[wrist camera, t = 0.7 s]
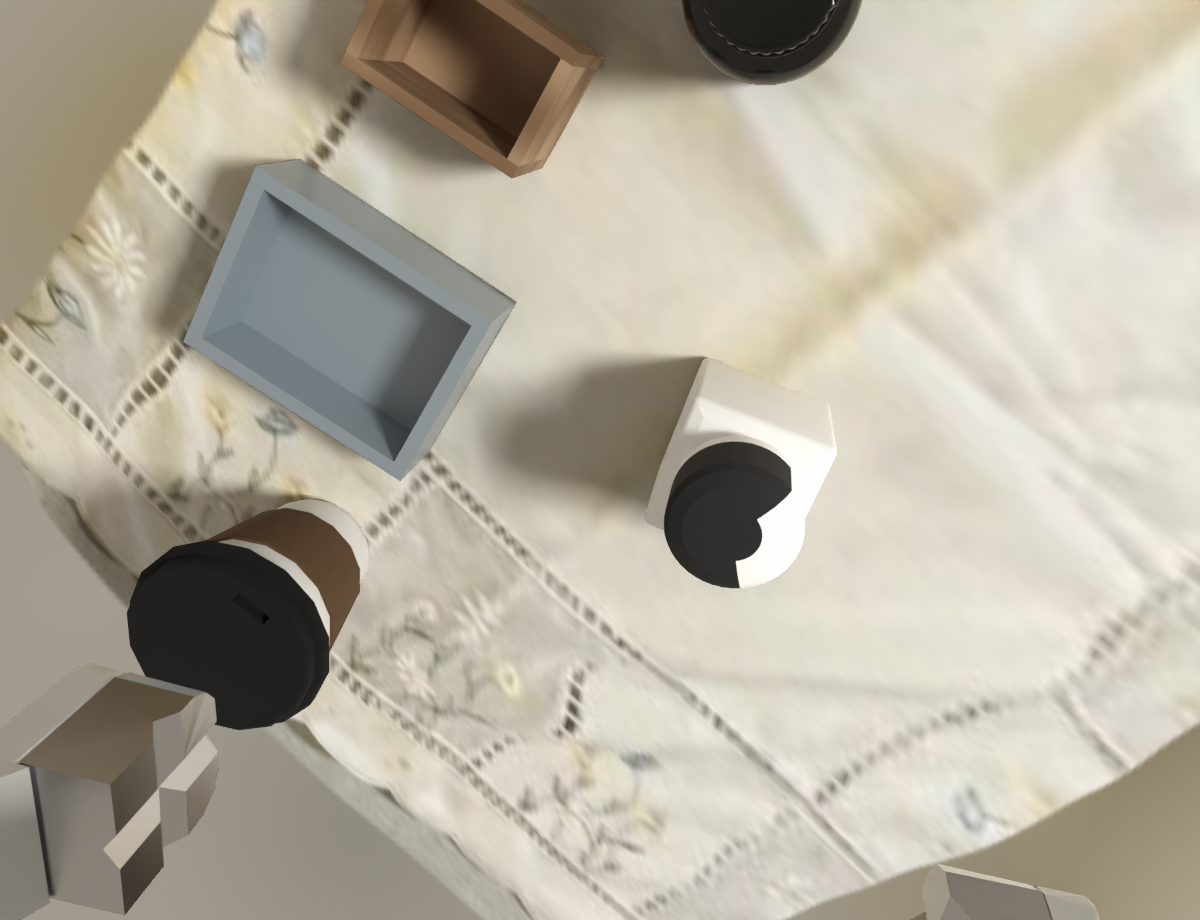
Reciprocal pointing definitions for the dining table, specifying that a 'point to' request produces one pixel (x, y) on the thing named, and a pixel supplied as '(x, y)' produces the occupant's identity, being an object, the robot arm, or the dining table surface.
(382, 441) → the grey crate
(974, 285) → the dining table surface
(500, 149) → the walnut crate
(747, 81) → the supplement bottle
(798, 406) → the medicine bottle
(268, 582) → the coffee cup
